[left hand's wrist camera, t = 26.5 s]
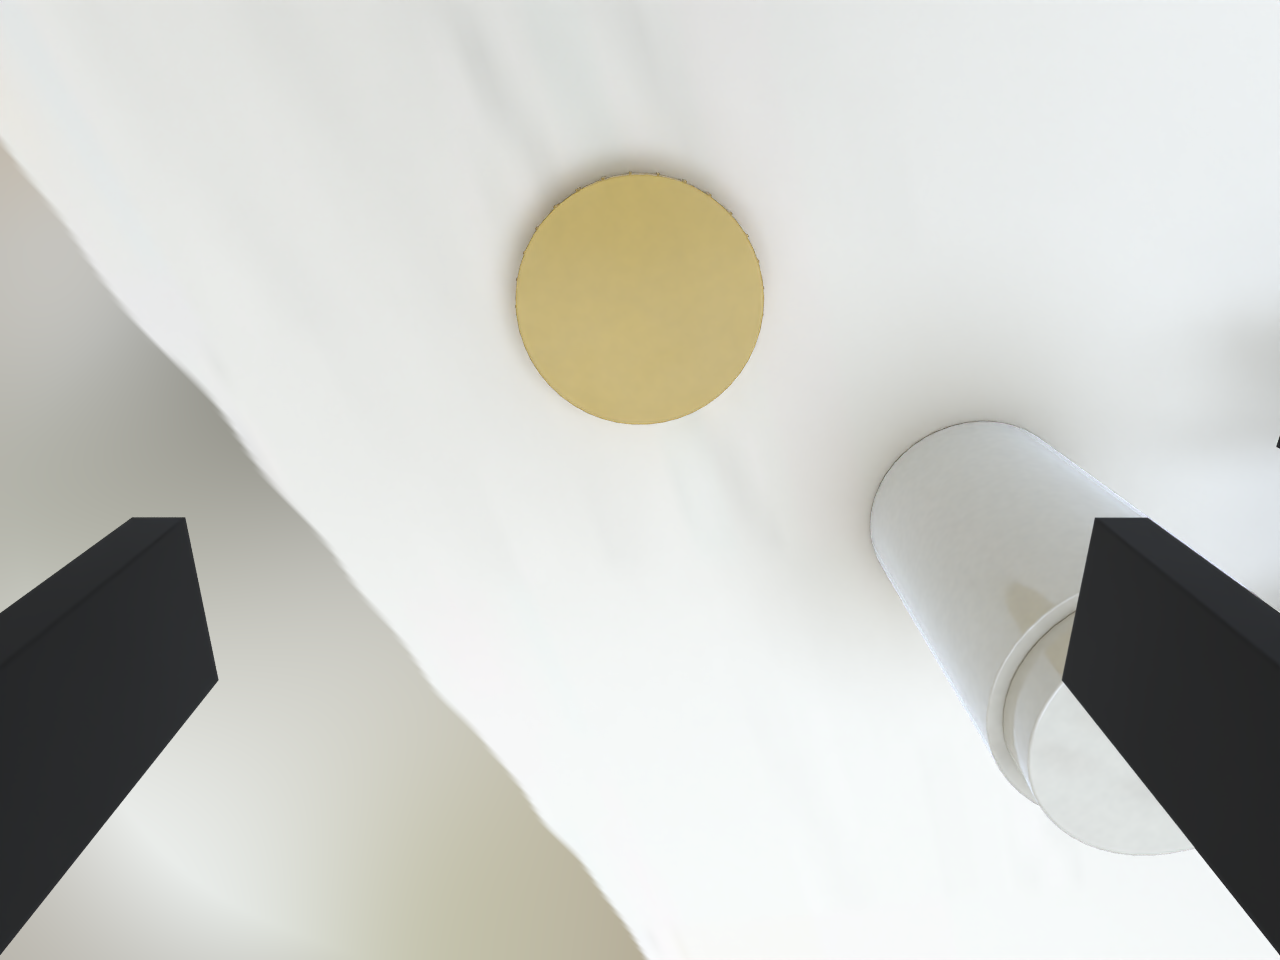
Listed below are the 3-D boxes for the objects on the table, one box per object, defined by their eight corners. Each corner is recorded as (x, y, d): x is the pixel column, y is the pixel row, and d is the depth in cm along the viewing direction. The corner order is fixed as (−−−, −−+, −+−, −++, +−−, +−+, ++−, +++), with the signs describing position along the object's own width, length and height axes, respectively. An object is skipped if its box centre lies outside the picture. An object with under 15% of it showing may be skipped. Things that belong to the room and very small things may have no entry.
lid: (470, 286, 39) (461, 294, 37) (650, 114, 36) (651, 113, 34) (629, 455, 42) (629, 472, 40) (806, 307, 39) (816, 316, 37)
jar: (1108, 525, 43) (1396, 757, 27) (941, 638, 46) (1113, 915, 29) (1001, 379, 41) (1248, 536, 24) (830, 506, 43) (949, 730, 26)
